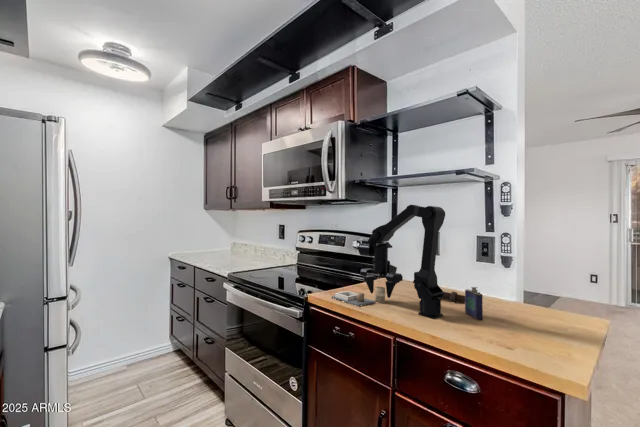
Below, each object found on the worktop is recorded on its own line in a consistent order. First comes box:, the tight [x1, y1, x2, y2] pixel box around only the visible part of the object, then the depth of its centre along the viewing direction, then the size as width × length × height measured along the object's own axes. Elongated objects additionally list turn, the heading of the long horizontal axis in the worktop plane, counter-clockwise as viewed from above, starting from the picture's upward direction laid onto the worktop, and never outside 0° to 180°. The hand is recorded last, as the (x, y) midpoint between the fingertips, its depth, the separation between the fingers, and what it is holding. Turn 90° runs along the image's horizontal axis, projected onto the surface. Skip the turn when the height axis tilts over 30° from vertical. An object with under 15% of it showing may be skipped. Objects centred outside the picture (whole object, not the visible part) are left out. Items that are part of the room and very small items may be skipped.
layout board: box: [331, 290, 376, 307], centre depth 132 cm, size 16×10×4 cm, turn 38°
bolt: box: [440, 291, 465, 304], centre depth 135 cm, size 6×5×15 cm
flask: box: [464, 286, 484, 322], centre depth 112 cm, size 9×3×11 cm, turn 4°
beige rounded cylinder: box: [374, 286, 386, 304], centre depth 130 cm, size 4×4×6 cm
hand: (380, 295), depth 130 cm, fingers open, 9 cm apart
